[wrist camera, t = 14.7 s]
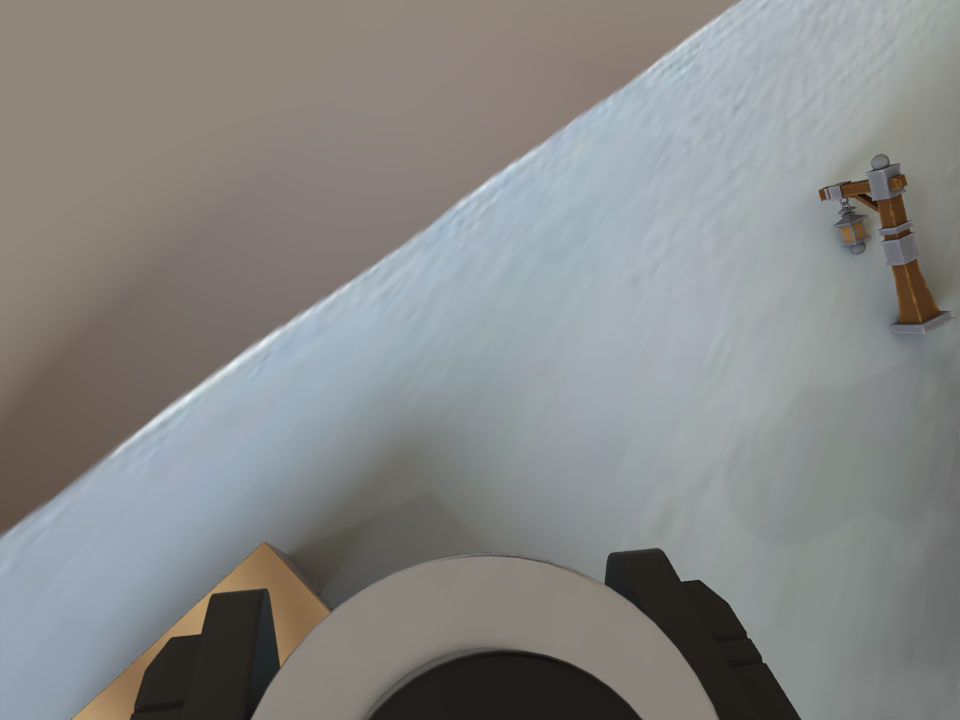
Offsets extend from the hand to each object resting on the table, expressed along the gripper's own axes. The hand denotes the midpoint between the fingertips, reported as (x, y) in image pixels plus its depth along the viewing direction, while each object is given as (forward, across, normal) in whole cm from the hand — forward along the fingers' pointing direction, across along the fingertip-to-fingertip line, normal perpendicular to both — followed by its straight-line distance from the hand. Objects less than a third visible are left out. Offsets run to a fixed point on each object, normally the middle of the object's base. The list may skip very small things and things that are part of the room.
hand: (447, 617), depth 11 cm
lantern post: (+22, +22, -3) cm, 32 cm away
